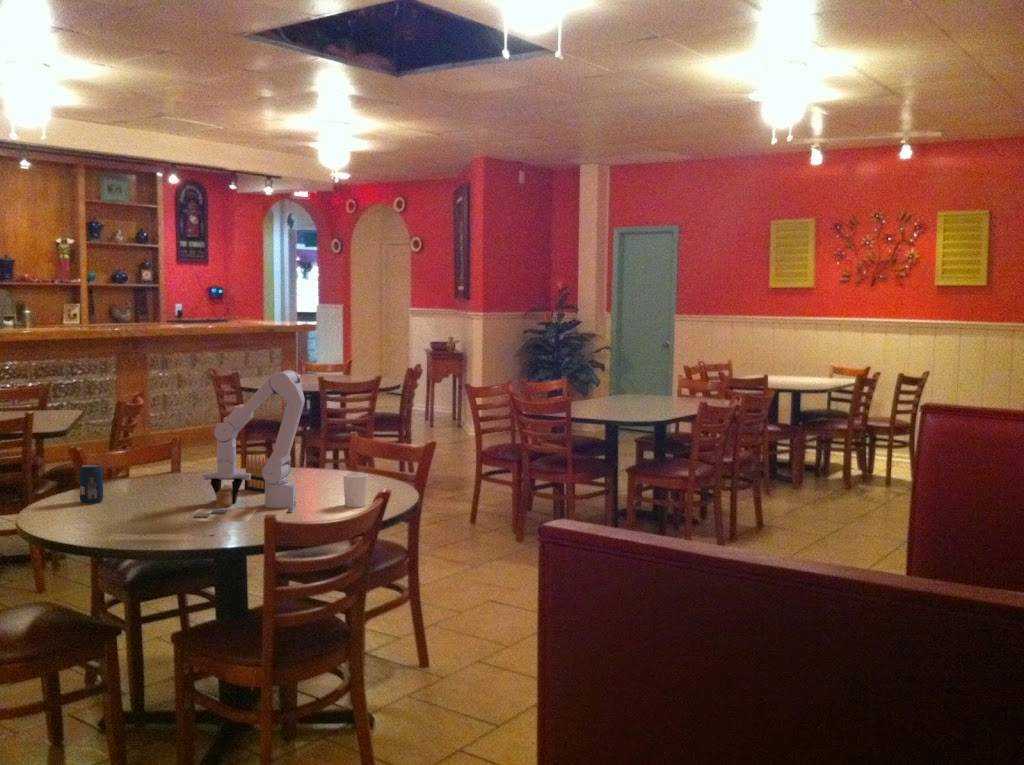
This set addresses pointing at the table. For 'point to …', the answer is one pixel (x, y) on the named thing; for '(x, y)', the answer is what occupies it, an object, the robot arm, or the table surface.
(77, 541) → the table surface
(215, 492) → the robot arm
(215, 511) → the charcoal chip
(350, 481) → the white cup
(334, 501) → the table surface
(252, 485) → the ammunition clip
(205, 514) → the charcoal chip
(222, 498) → the block
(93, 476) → the soda can
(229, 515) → the birch board
